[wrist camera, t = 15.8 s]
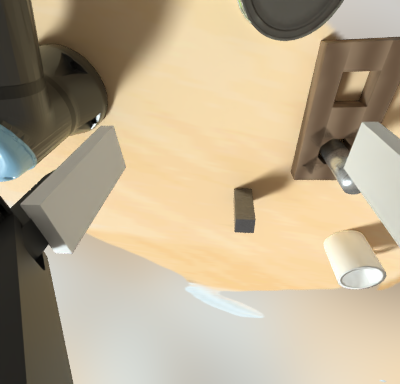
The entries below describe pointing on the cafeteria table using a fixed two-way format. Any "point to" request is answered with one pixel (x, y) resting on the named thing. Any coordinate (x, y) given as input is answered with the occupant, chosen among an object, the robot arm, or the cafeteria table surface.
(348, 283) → the mug
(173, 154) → the cafeteria table surface
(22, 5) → the robot arm
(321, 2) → the coffee can
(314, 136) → the socket block
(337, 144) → the grey cylinder
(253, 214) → the square bit
